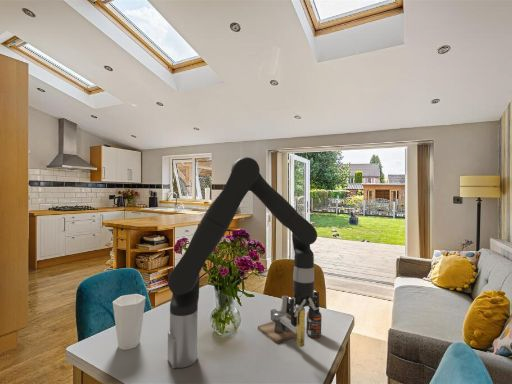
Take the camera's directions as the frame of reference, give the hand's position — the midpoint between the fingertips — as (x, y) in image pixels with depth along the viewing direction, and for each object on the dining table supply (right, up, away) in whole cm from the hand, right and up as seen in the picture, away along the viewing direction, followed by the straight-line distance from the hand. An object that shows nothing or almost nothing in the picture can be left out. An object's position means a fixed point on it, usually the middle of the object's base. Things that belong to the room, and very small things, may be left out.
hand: (302, 322), depth 100 cm
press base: (-8, -10, +13) cm, 19 cm away
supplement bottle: (+6, -11, +12) cm, 17 cm away
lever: (-5, -7, +7) cm, 12 cm away
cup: (-65, -10, +3) cm, 66 cm away
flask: (-4, -11, +25) cm, 28 cm away
